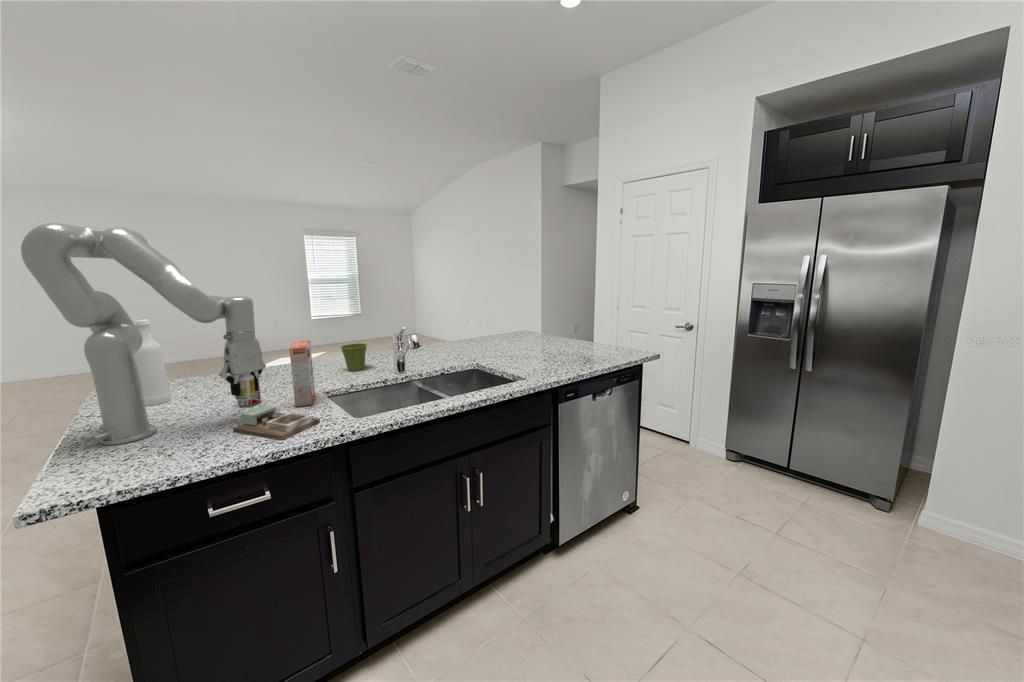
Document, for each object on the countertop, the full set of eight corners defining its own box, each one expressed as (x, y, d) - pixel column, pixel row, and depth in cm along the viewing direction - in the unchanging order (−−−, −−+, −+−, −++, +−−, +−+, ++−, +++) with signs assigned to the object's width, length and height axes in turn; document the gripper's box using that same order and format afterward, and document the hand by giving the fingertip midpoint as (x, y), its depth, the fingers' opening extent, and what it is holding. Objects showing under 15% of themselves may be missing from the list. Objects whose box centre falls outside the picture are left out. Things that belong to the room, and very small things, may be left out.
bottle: (136, 405, 151) (120, 321, 145) (159, 398, 158) (145, 318, 153) (154, 406, 149) (138, 321, 143) (176, 399, 157) (162, 318, 151)
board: (281, 440, 119) (280, 429, 118) (233, 431, 125) (231, 421, 125) (320, 422, 131) (318, 412, 131) (274, 415, 138) (273, 406, 137)
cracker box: (314, 405, 147) (307, 346, 143) (295, 407, 145) (287, 347, 141) (316, 394, 160) (310, 339, 156) (298, 396, 158) (292, 340, 154)
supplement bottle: (251, 395, 139) (249, 366, 137) (258, 398, 136) (256, 369, 134) (232, 398, 135) (230, 368, 133) (239, 402, 132) (237, 371, 130)
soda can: (250, 408, 146) (245, 374, 144) (233, 406, 147) (228, 373, 145) (266, 401, 153) (261, 368, 150) (249, 400, 154) (244, 368, 152)
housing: (254, 425, 126) (252, 415, 125) (242, 423, 128) (240, 413, 127) (277, 416, 133) (276, 406, 133) (265, 414, 135) (264, 405, 134)
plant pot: (363, 365, 204) (361, 342, 202) (373, 369, 195) (371, 345, 193) (338, 369, 197) (336, 345, 194) (347, 374, 188) (345, 349, 185)
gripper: (222, 341, 123) (227, 401, 126) (274, 334, 139) (277, 387, 142) (204, 339, 125) (209, 398, 128) (257, 332, 141) (260, 385, 144)
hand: (245, 392), depth 135 cm, fingers closed on supplement bottle, 5 cm apart
